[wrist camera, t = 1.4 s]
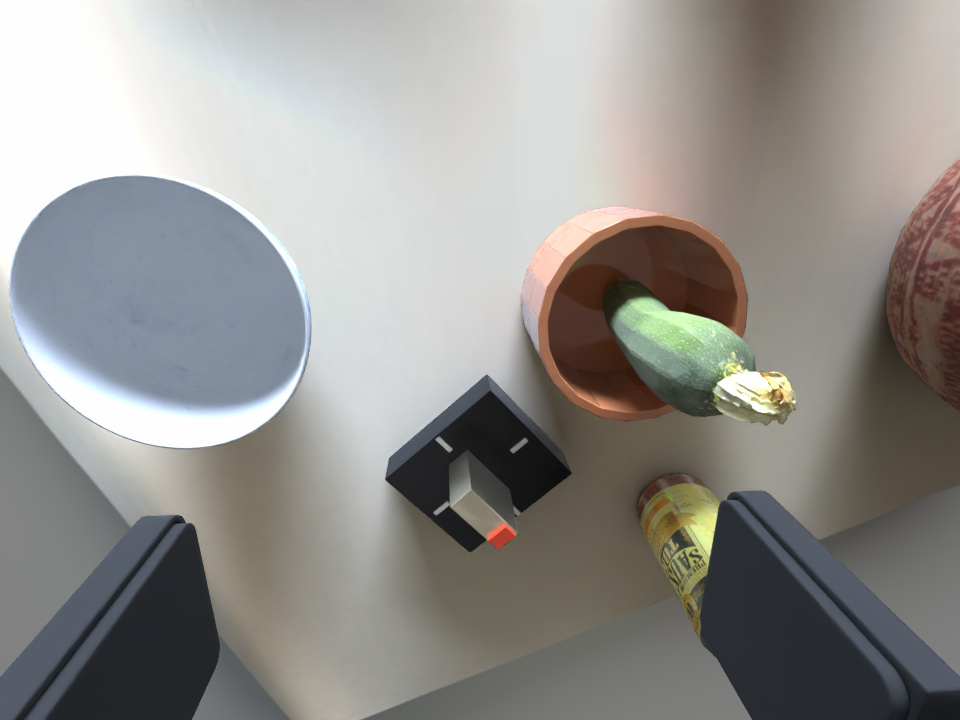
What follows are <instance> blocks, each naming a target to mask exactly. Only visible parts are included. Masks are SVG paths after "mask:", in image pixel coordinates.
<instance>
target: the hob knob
mask: <svg viewBox="0 0 960 720" xmlns="http://www.w3.org/2000/svg"><path fill="white" fill-rule="evenodd" d="M449 491H450V508H452V509H453V510H454V511H455V512H456V513H457V514H458V515H459V516H461V517H462V518H463V519H464V520H465V521H466V522H467V523H468V524H470V525H471V526H472V527H473V528H474V529H475V530H476V531H477V532H479V533H480V534H481V535H482V536H483V537H484V538H485V539H487V540H488V541H489V542H490V543H491V544H492V545H493V546H494V547H496V548H497V549H498V550H499V549H500V548H501V547H503V546H504V545H505V544H506V543H508V542H509V541H510V540H512V539H513V538H514V537H515V536H517V535H518V534H519V532H518V527H517V523H516V518H515V513H514V508H513V503H512V498H511V494H510V489H509V488H508V487H507V486H506V485H504V484H503V483H502V482H501V481H500V480H499V479H498V478H497V477H496V476H495V475H494V474H493V473H492V472H491V471H490V470H489V469H488V468H487V467H485V466H484V465H483V464H482V463H481V462H480V461H479V460H478V459H477V458H476V457H475V456H474V455H473V454H472V453H471V452H470V451H469V450H466V451H465V452H464V453H462V454H461V455H460V456H459V457H458V458H456V459H455V460H454V461H453V462H452V463H450V464H449Z"/></svg>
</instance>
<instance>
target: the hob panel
mask: <svg viewBox="0 0 960 720" xmlns="http://www.w3.org/2000/svg"><path fill="white" fill-rule="evenodd" d="M466 450H469V451H470V452H471V453H472V454H473V455H474V456H475V457H476V458H477V459H478V460H479V461H480V462H481V463H482V464H483V465H484V466H485V467H487V468H488V469H489V470H490V471H491V472H492V473H493V474H494V475H495V476H496V477H497V478H498V479H499V480H500V481H501V482H502V483H503V484H504V485H506V486H507V487H508V488H509V489H510V494H511V498H512V503H513V508H514V513H515V517H517V516H519V515H520V514H521V513H522V512H523V511H524V510H526V509H527V508H528V507H530V506H531V505H532V504H533V503H535V502H536V501H537V500H539V499H540V498H541V497H542V496H544V495H545V494H546V493H548V492H549V491H550V490H551V489H553V488H554V487H555V486H557V485H558V484H559V483H560V482H562V481H563V480H564V479H566V478H567V477H568V476H569V475H571V474H572V472H571V470H570V467H569V465H568V462H567V460H566V458H565V455H564V453H563V452H562V451H561V450H560V449H559V448H558V447H557V446H556V445H555V443H554V442H553V441H552V440H551V439H550V438H549V437H548V436H547V435H546V434H545V433H544V432H543V431H542V430H541V429H540V428H539V427H538V426H537V425H536V424H535V423H534V422H533V421H532V420H531V419H530V418H529V417H528V416H527V415H526V414H525V413H524V412H523V411H522V410H521V409H520V408H519V407H518V406H517V405H516V404H515V402H514V401H513V400H512V399H511V398H510V397H509V396H508V395H507V394H506V393H505V392H504V391H503V390H502V389H501V388H500V387H499V386H498V385H497V384H496V383H495V382H494V381H493V380H492V379H491V378H490V377H489V376H488V375H486V376H485V377H483V378H482V379H481V380H480V381H479V382H478V383H476V384H475V385H474V386H473V387H472V388H471V389H469V390H468V391H467V392H466V393H465V394H464V395H462V396H461V397H460V398H459V399H458V400H457V401H455V402H454V403H453V404H452V405H451V406H450V407H448V408H447V409H446V410H445V411H444V412H442V413H441V414H440V415H439V416H438V417H437V418H435V419H434V420H433V421H432V422H431V423H430V424H428V425H427V426H426V427H425V428H424V429H423V430H421V431H420V432H419V433H418V434H417V435H416V436H414V437H413V438H412V439H411V440H410V441H409V442H407V443H406V444H405V445H404V446H403V447H402V448H400V449H399V450H398V451H397V452H396V453H395V454H393V455H392V456H391V457H390V458H389V462H388V467H387V473H386V478H385V480H386V481H387V482H389V483H390V484H391V485H392V486H393V487H394V488H396V489H397V490H398V491H399V492H400V493H401V494H402V495H404V496H405V497H406V498H407V499H408V500H409V501H411V502H412V503H413V504H414V505H415V506H416V507H418V508H419V509H420V510H421V511H422V512H423V513H424V514H426V515H427V516H428V517H429V518H430V519H431V520H433V521H434V522H435V523H436V524H437V525H438V526H440V527H441V528H442V529H443V530H444V531H445V532H447V533H448V534H449V535H450V536H451V537H452V538H453V539H455V540H456V541H457V542H458V543H459V544H460V545H462V546H463V547H464V548H465V549H466V550H467V551H469V552H472V551H473V550H474V549H476V548H477V547H478V546H480V545H481V544H482V543H483V542H485V541H486V540H487V539H485V538H484V537H483V536H482V535H481V534H480V533H479V532H477V531H476V530H475V529H474V528H473V527H472V526H471V525H470V524H468V523H467V522H466V521H465V520H464V519H463V518H462V517H461V516H459V515H458V514H457V513H456V512H455V511H454V510H453V509H452V508H450V491H449V464H450V463H452V462H453V461H454V460H455V459H456V458H458V457H459V456H460V455H461V454H462V453H464V452H465V451H466Z"/></svg>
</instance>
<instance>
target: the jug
mask: <svg viewBox="0 0 960 720" xmlns="http://www.w3.org/2000/svg"><path fill="white" fill-rule="evenodd" d="M886 304H887V316H888V322H889V327H890V330H891V333H892V336H893V339H894V342H895V345H896V347H897V349H898V351H899V353H900V355H901V356H902V358H903V359H904V361H905V362H906V364H907V365H908V367H909V368H910V369H911V370H912V371H913V372H914V373H915V374H916V375H917V376H918V377H919V378H920V379H921V380H922V381H923V382H924V383H925V384H927V385H928V386H929V387H930V388H931V389H932V390H934V391H935V392H936V393H937V394H938V395H939V396H940V397H942V398H943V399H944V400H945V401H947V402H948V403H950V404H951V405H952V406H953V407H955V408H956V409H957V410H959V411H960V158H959V159H958V160H957V161H956V162H955V163H954V164H953V165H952V166H951V167H949V168H948V169H947V170H946V171H945V172H944V173H943V174H942V175H941V176H940V177H939V178H938V179H937V181H936V182H935V183H934V184H933V186H932V187H931V188H930V189H929V190H928V192H927V193H926V194H925V195H924V197H923V198H922V200H921V201H920V202H919V204H918V205H917V207H916V208H915V209H914V211H913V212H912V214H911V216H910V217H909V219H908V221H907V223H906V224H905V226H904V227H903V229H902V230H901V233H900V235H899V238H898V241H897V243H896V246H895V249H894V253H893V256H892V260H891V263H890V267H889V275H888V281H887V288H886Z"/></svg>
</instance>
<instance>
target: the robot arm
mask: <svg viewBox="0 0 960 720" xmlns="http://www.w3.org/2000/svg"><path fill="white" fill-rule="evenodd" d="M700 624H701V629H702V632H703V634H704V637H705V639H706V640H707V642H708V644H709V645H710V647H711V649H712V651H713V652H714V654H715V656H716V658H717V659H718V661H719V663H720V664H721V666H722V668H723V670H724V672H725V673H726V675H727V677H728V678H729V680H730V682H731V684H732V685H733V687H734V689H735V691H736V692H737V694H738V696H739V698H740V699H741V701H742V703H743V704H744V706H745V708H746V710H747V711H748V713H749V715H750V717H751V718H752V720H960V676H959V675H958V674H956V673H955V672H954V671H953V670H952V669H951V668H950V667H949V666H948V665H947V664H946V663H945V662H944V661H943V660H942V659H941V658H940V657H939V656H938V655H937V654H936V653H935V652H934V651H932V650H931V649H930V648H929V647H928V646H927V645H926V644H925V643H924V642H923V641H922V640H921V639H920V638H919V637H918V636H917V635H916V634H915V633H914V632H913V631H912V630H910V628H909V627H907V625H906V624H904V623H903V622H902V621H901V620H900V619H899V618H898V617H897V616H896V615H895V614H894V613H893V612H892V611H891V610H890V609H889V608H888V607H887V606H886V605H884V603H883V602H881V600H879V599H878V598H877V597H876V596H875V595H874V594H873V593H872V592H871V591H870V590H869V589H868V588H867V587H866V586H865V585H864V584H863V583H862V582H861V581H860V580H859V579H858V578H857V577H855V576H854V575H853V574H852V573H851V572H850V571H849V570H848V569H847V568H846V567H845V566H844V565H843V564H842V563H841V562H840V561H839V560H838V559H837V558H836V557H835V556H834V555H833V554H832V553H831V552H829V551H828V550H827V549H826V548H825V547H824V546H823V545H822V544H821V543H820V542H819V541H818V540H817V539H816V538H815V537H814V536H813V535H812V534H811V533H810V532H809V531H808V530H807V529H806V528H805V527H803V526H802V525H801V524H800V523H799V522H798V521H797V520H796V519H795V518H794V517H793V516H792V515H791V514H790V513H789V512H788V511H787V510H786V509H785V508H784V507H783V506H782V505H781V504H780V503H778V502H777V501H776V500H775V499H774V498H773V497H772V496H771V495H770V494H769V493H767V492H766V491H742V492H732V493H730V494H729V496H728V498H727V500H724V501H722V502H721V503H720V505H719V508H718V514H717V519H716V525H715V531H714V537H713V542H712V548H711V554H710V559H709V565H708V571H707V577H706V582H705V588H704V594H703V599H702V605H701V611H700ZM219 648H220V644H219V638H218V633H217V628H216V624H215V619H214V614H213V609H212V605H211V600H210V595H209V590H208V585H207V581H206V576H205V571H204V566H203V562H202V557H201V552H200V547H199V543H198V538H197V533H196V529H195V527H194V525H193V524H191V523H186V522H185V520H184V518H183V517H182V516H180V515H166V516H146V517H142V518H141V519H139V520H138V521H137V522H136V523H135V524H134V526H133V527H132V528H131V529H130V530H129V531H128V532H127V534H126V535H125V536H124V537H123V538H122V539H121V540H120V542H119V543H118V544H117V545H116V546H115V547H114V548H113V550H112V551H111V552H110V553H109V554H108V555H107V556H106V557H105V559H104V560H103V561H102V562H101V563H100V564H99V566H98V567H97V568H96V569H95V570H94V571H93V573H91V575H90V576H89V577H88V578H87V579H86V580H85V581H84V583H83V584H82V585H81V586H80V587H79V588H78V590H77V591H76V592H75V593H74V594H73V595H72V596H71V597H70V599H69V600H68V601H67V602H66V603H65V604H64V606H62V608H61V609H60V610H59V611H58V612H57V613H56V615H55V616H54V617H53V618H52V619H51V620H50V621H49V623H48V624H47V625H46V626H45V627H44V628H43V630H41V632H40V633H39V634H38V635H37V636H36V637H35V638H34V640H33V641H32V642H31V643H30V644H29V645H28V647H27V648H26V649H25V650H24V651H23V652H22V653H21V654H20V656H19V657H18V658H17V659H16V660H15V661H14V663H12V665H11V666H10V667H9V668H8V669H7V670H6V672H5V673H4V674H3V675H2V676H1V677H0V720H192V718H193V716H194V714H195V711H196V709H197V707H198V705H199V702H200V700H201V698H202V696H203V694H204V691H205V689H206V687H207V685H208V683H209V681H210V679H211V676H212V674H213V672H214V670H215V667H216V665H217V662H218V658H219V650H220V649H219Z"/></svg>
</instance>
